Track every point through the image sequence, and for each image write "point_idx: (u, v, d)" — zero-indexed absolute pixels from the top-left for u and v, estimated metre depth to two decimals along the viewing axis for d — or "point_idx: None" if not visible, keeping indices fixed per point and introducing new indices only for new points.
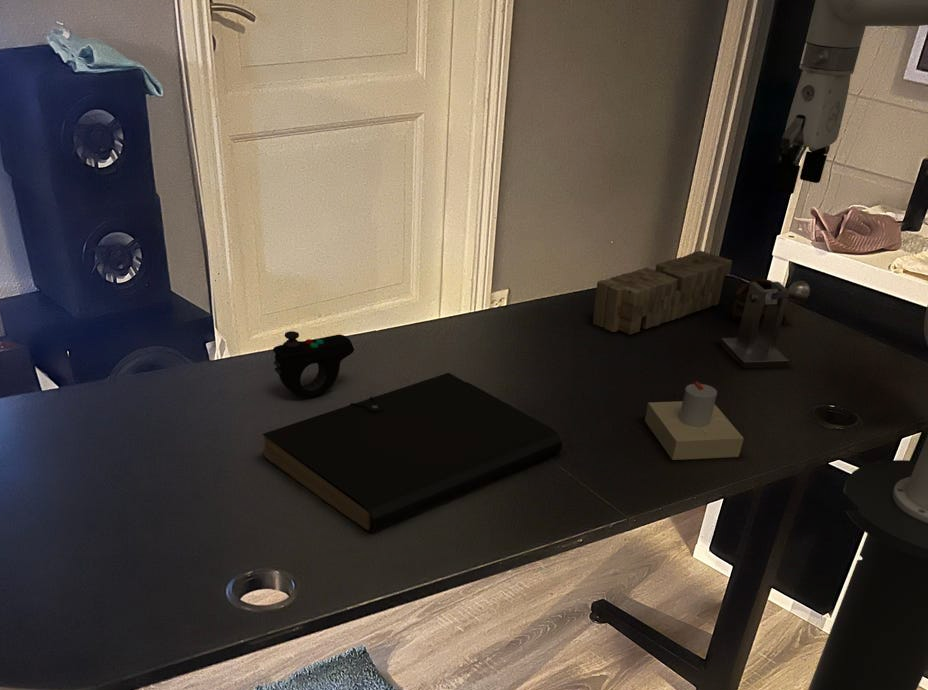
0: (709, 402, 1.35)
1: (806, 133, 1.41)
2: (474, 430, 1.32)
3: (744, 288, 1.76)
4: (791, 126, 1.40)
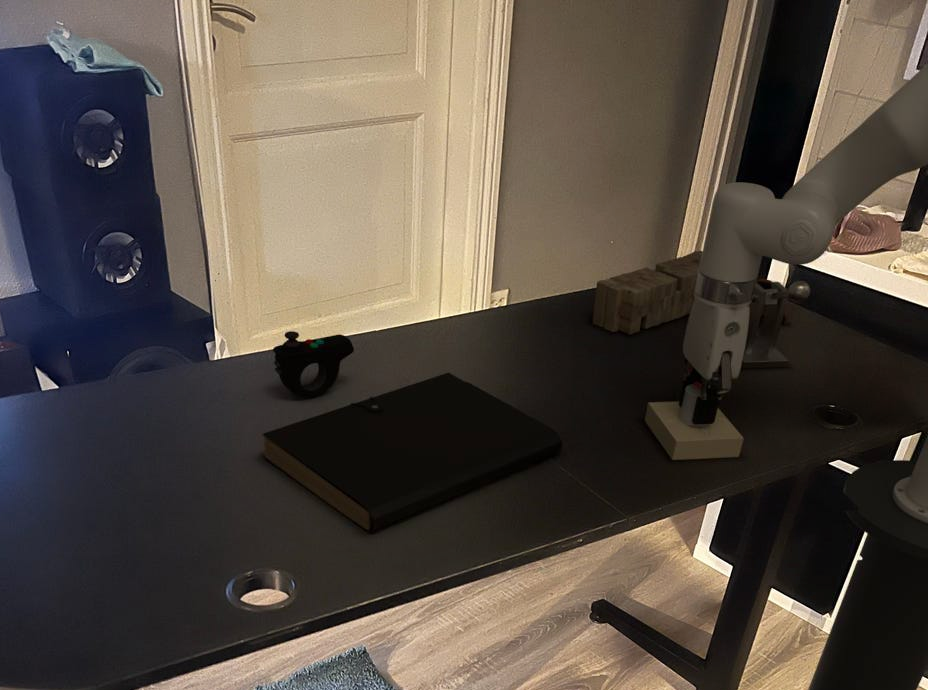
0: None
1: (734, 366, 1.29)
2: (474, 430, 1.32)
3: None
4: (724, 373, 1.28)
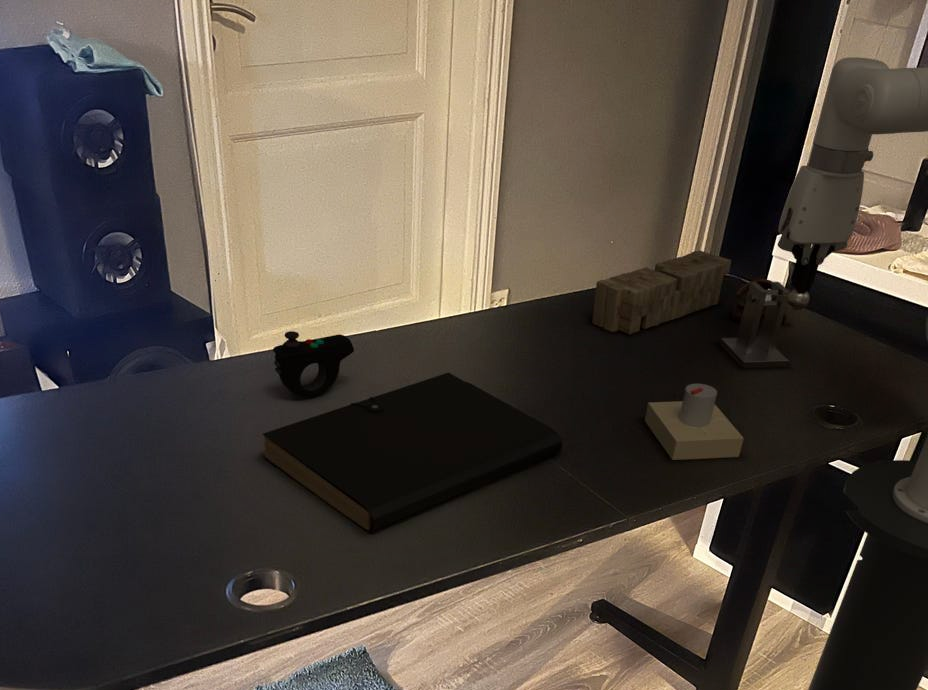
0: None
1: None
2: (474, 430, 1.32)
3: (744, 288, 1.76)
4: None
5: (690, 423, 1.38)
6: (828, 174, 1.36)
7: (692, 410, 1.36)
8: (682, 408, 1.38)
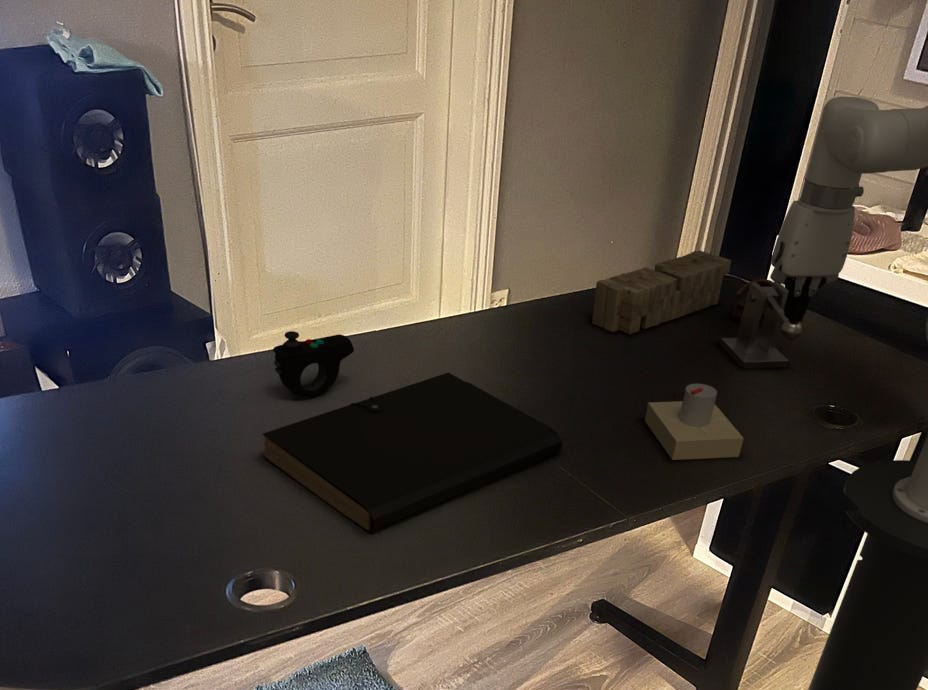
0: None
1: None
2: (474, 430, 1.32)
3: (744, 288, 1.76)
4: None
5: (690, 423, 1.38)
6: (819, 210, 1.39)
7: (692, 410, 1.36)
8: (682, 408, 1.38)
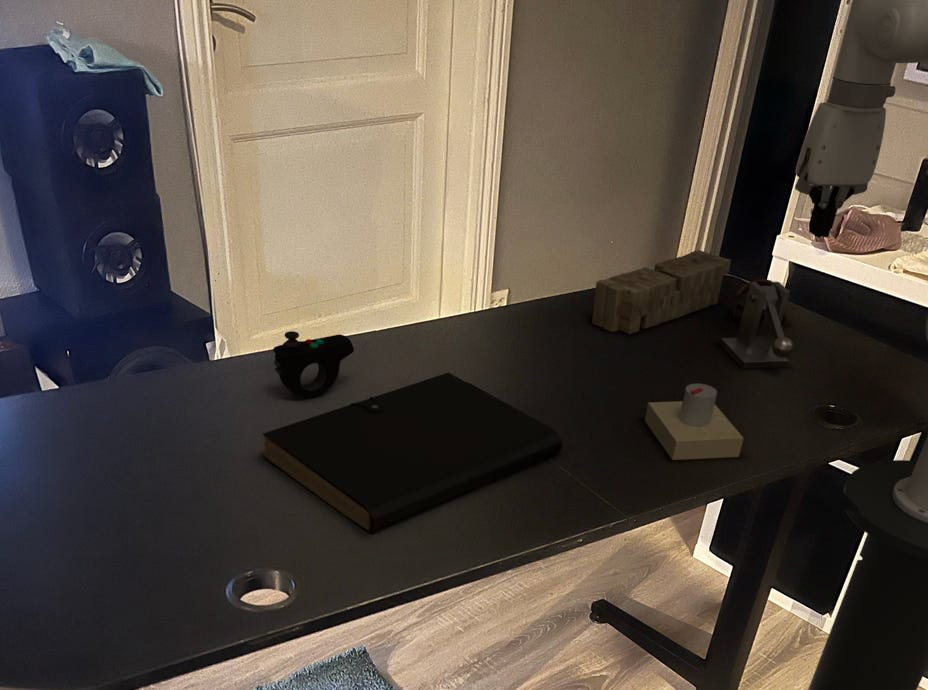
0: None
1: None
2: (474, 430, 1.32)
3: (744, 288, 1.76)
4: None
5: (690, 423, 1.38)
6: (849, 109, 1.30)
7: (692, 410, 1.36)
8: (682, 408, 1.38)
